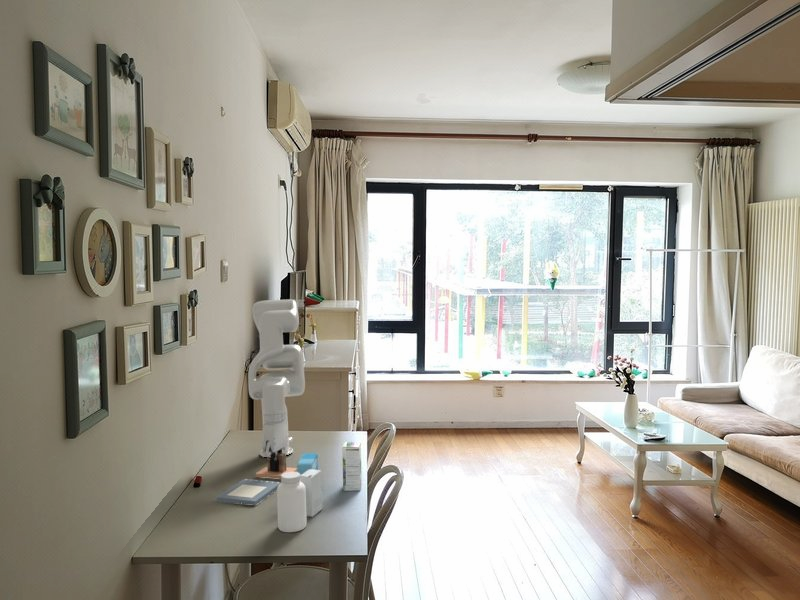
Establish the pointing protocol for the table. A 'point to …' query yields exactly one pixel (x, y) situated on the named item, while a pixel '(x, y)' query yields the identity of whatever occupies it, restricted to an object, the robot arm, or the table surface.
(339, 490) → the table surface
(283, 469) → the stub
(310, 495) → the skincare box
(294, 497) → the pill bottle
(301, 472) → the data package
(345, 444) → the syrup box
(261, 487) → the board
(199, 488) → the table surface
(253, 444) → the table surface
